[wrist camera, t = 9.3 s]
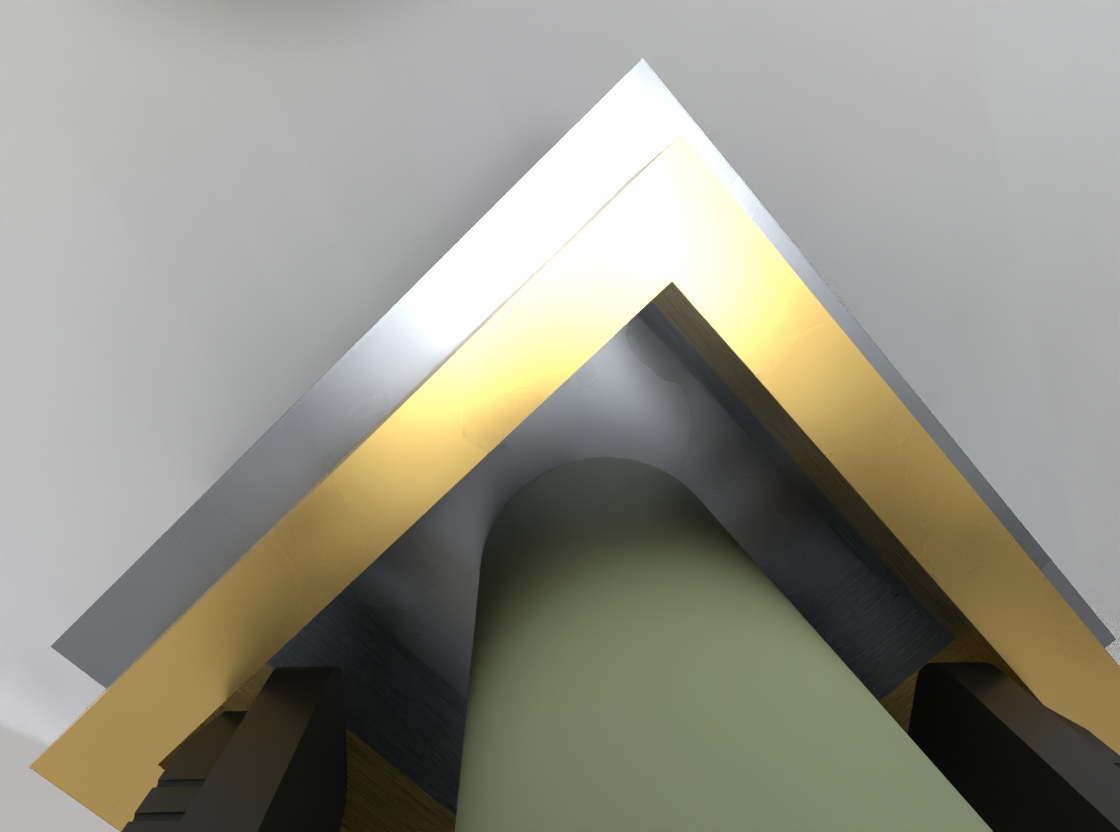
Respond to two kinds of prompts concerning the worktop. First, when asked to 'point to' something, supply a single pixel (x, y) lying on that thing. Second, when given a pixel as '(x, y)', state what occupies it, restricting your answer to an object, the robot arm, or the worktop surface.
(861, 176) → the worktop surface
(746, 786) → the spout can
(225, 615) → the open square metal box
